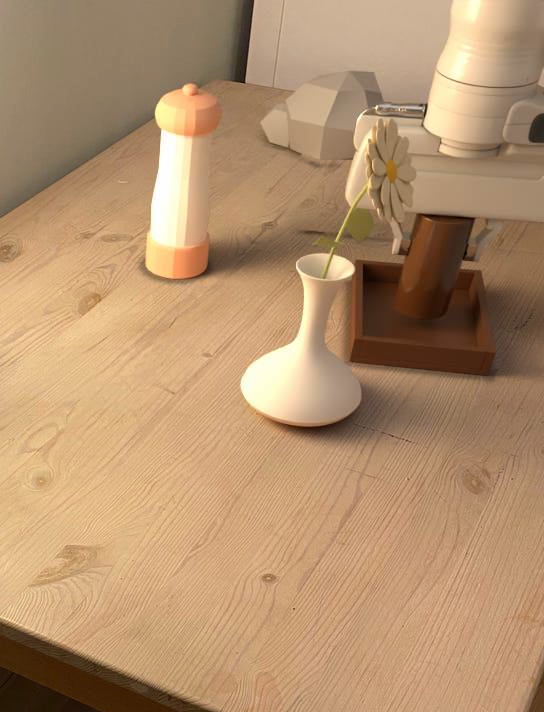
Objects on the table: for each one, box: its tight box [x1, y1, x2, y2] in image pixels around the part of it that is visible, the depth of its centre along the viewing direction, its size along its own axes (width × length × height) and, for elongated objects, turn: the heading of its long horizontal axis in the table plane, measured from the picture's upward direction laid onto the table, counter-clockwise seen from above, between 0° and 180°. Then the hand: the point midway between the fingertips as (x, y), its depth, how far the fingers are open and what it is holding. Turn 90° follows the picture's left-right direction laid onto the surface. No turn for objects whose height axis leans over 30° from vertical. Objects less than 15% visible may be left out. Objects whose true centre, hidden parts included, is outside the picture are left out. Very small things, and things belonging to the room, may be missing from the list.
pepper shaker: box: [145, 83, 223, 280], centre depth 104 cm, size 7×7×19 cm
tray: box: [348, 259, 497, 376], centre depth 100 cm, size 14×18×3 cm
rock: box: [260, 70, 385, 161], centre depth 134 cm, size 18×20×10 cm
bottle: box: [393, 213, 477, 320], centre depth 95 cm, size 6×6×14 cm
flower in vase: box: [240, 118, 416, 427], centre depth 83 cm, size 13×11×25 cm
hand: (434, 256), depth 96 cm, fingers closed on bottle, 5 cm apart
